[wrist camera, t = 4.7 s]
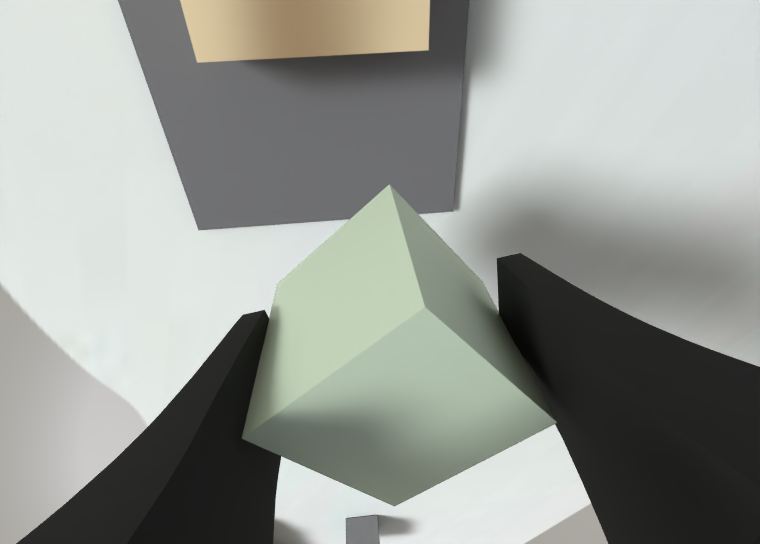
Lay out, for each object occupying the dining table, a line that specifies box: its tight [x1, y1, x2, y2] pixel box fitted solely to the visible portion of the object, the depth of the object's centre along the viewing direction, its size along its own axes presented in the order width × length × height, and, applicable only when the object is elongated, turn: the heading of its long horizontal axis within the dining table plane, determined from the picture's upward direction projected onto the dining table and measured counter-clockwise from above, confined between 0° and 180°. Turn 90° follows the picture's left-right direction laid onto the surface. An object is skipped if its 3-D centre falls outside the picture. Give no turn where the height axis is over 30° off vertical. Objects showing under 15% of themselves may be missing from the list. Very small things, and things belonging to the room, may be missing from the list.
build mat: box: [118, 0, 469, 230], centre depth 14 cm, size 12×15×1 cm
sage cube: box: [242, 184, 557, 506], centre depth 10 cm, size 4×4×5 cm
